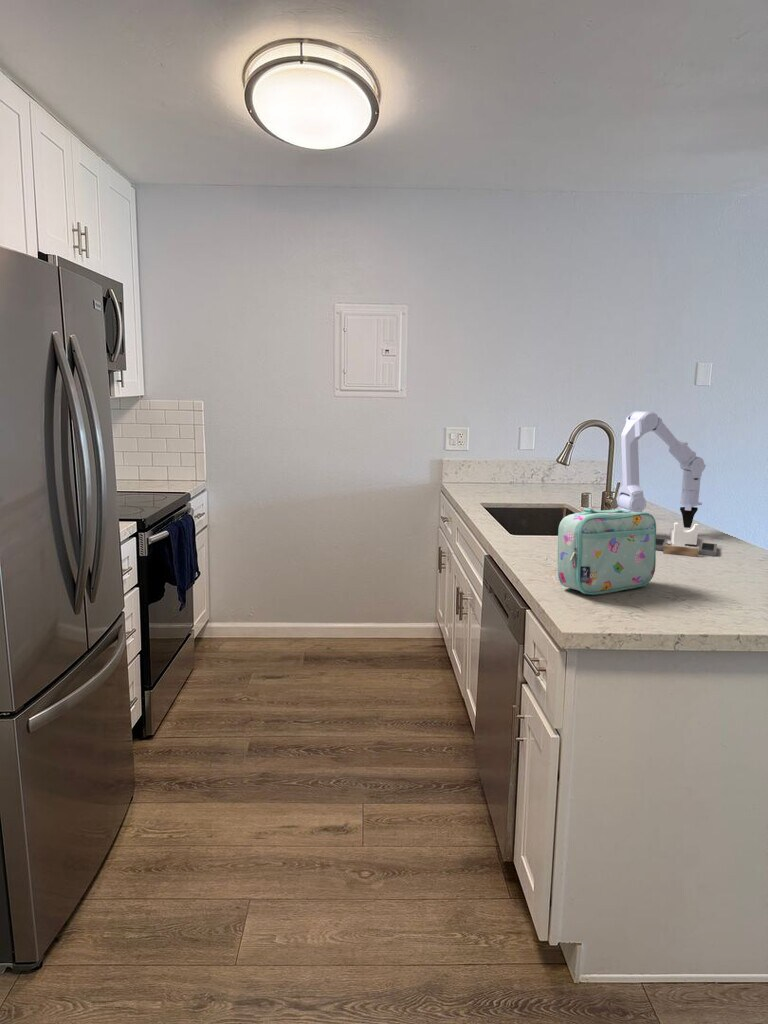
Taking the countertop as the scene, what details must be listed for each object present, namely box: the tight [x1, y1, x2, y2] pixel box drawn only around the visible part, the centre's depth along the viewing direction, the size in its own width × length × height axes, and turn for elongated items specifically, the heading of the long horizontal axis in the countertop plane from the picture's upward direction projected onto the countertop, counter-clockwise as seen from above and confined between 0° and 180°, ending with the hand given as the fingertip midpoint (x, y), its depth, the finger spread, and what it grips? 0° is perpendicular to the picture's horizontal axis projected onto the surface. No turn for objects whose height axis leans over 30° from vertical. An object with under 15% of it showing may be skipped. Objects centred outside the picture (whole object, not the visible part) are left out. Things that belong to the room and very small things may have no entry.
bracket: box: [669, 522, 699, 547], centre depth 228 cm, size 13×7×8 cm, turn 162°
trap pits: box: [656, 537, 718, 557], centre depth 218 cm, size 20×12×2 cm, turn 63°
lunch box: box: [557, 507, 657, 596], centre depth 172 cm, size 27×10×21 cm, turn 114°
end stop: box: [662, 544, 699, 558], centre depth 210 cm, size 10×2×2 cm, turn 63°
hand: (687, 527), depth 238 cm, fingers closed
